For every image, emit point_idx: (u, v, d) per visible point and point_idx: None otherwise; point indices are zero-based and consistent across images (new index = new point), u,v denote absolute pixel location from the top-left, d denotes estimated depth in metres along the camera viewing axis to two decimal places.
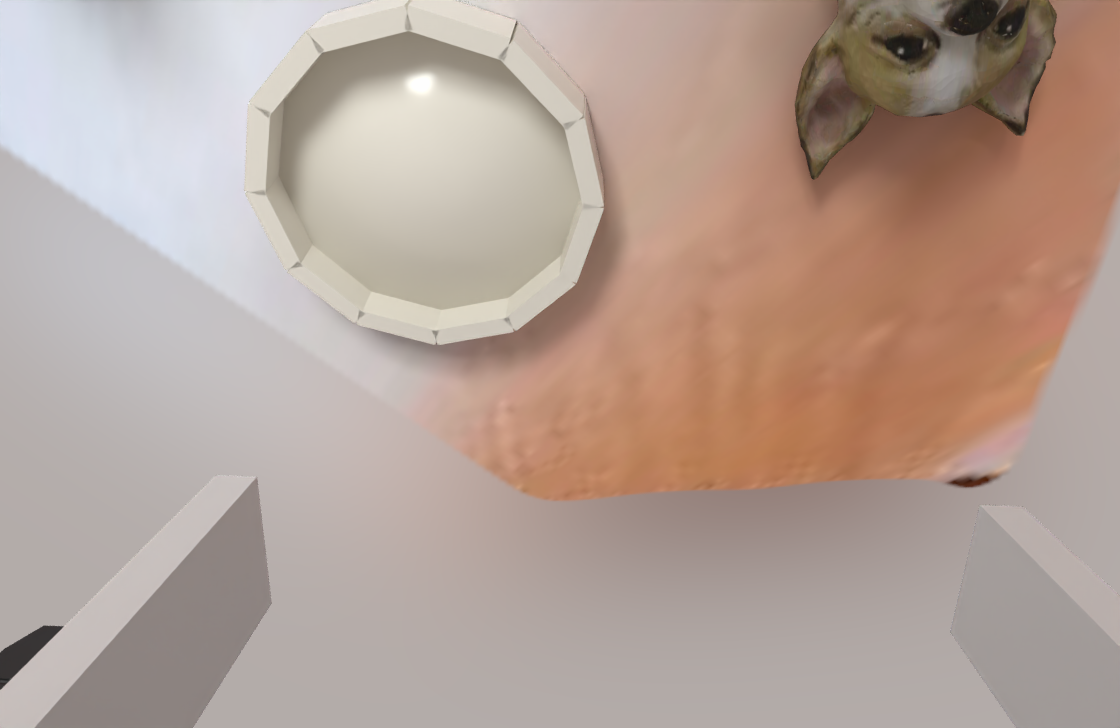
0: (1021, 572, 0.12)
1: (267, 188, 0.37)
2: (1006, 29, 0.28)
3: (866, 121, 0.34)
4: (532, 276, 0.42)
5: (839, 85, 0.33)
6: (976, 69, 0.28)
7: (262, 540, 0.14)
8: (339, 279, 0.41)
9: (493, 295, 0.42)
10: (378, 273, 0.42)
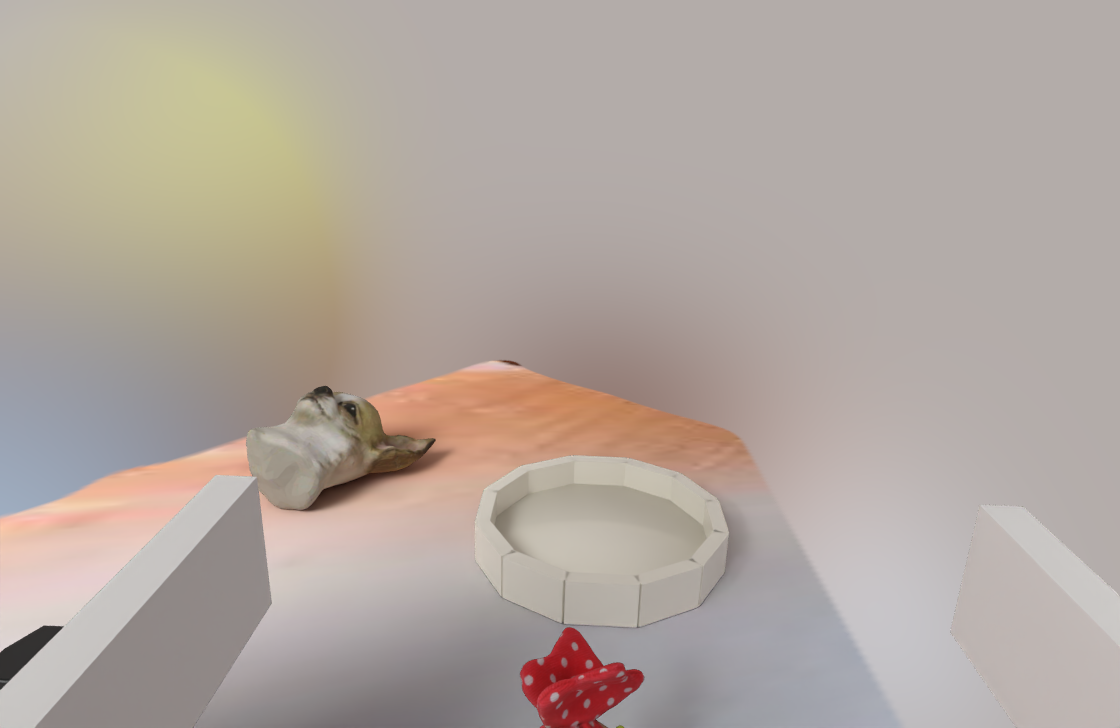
0: (1020, 572, 0.12)
1: None
2: None
3: (393, 436, 0.64)
4: (599, 485, 0.60)
5: None
6: (340, 393, 0.62)
7: (262, 540, 0.14)
8: (707, 526, 0.53)
9: (631, 490, 0.60)
10: (686, 527, 0.55)
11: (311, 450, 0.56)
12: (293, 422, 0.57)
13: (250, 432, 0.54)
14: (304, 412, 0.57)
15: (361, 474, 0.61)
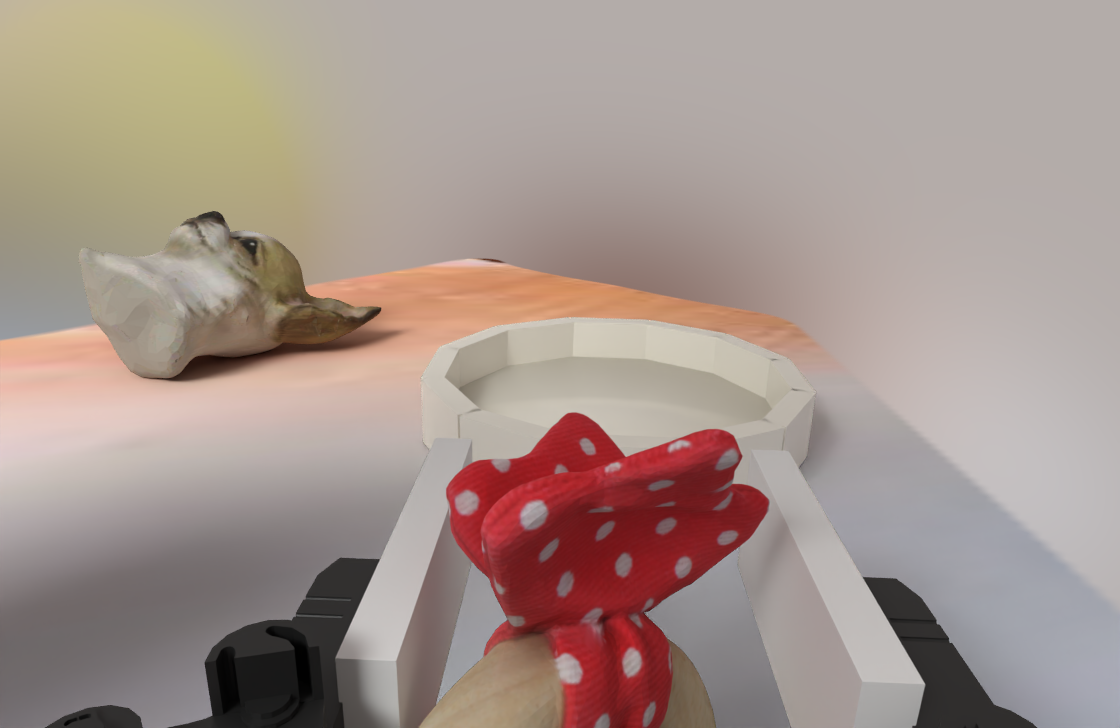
0: None
1: None
2: None
3: None
4: (609, 358, 0.42)
5: None
6: None
7: None
8: (776, 393, 0.35)
9: (655, 363, 0.42)
10: (741, 400, 0.37)
11: (176, 287, 0.38)
12: (160, 253, 0.40)
13: (81, 251, 0.37)
14: (177, 240, 0.40)
15: (266, 341, 0.43)
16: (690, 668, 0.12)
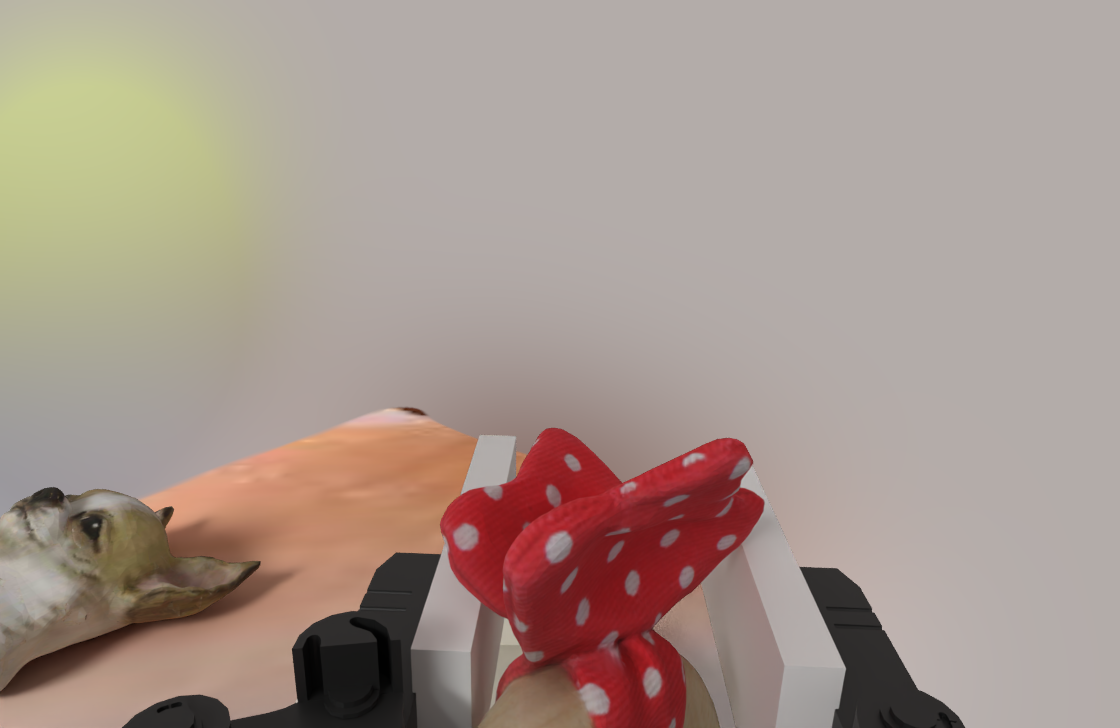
0: None
1: None
2: None
3: (191, 557, 0.41)
4: (510, 646, 0.38)
5: (167, 582, 0.39)
6: (96, 493, 0.39)
7: None
8: None
9: None
10: None
11: None
12: None
13: None
14: (2, 535, 0.35)
15: (116, 626, 0.38)
16: (697, 676, 0.12)
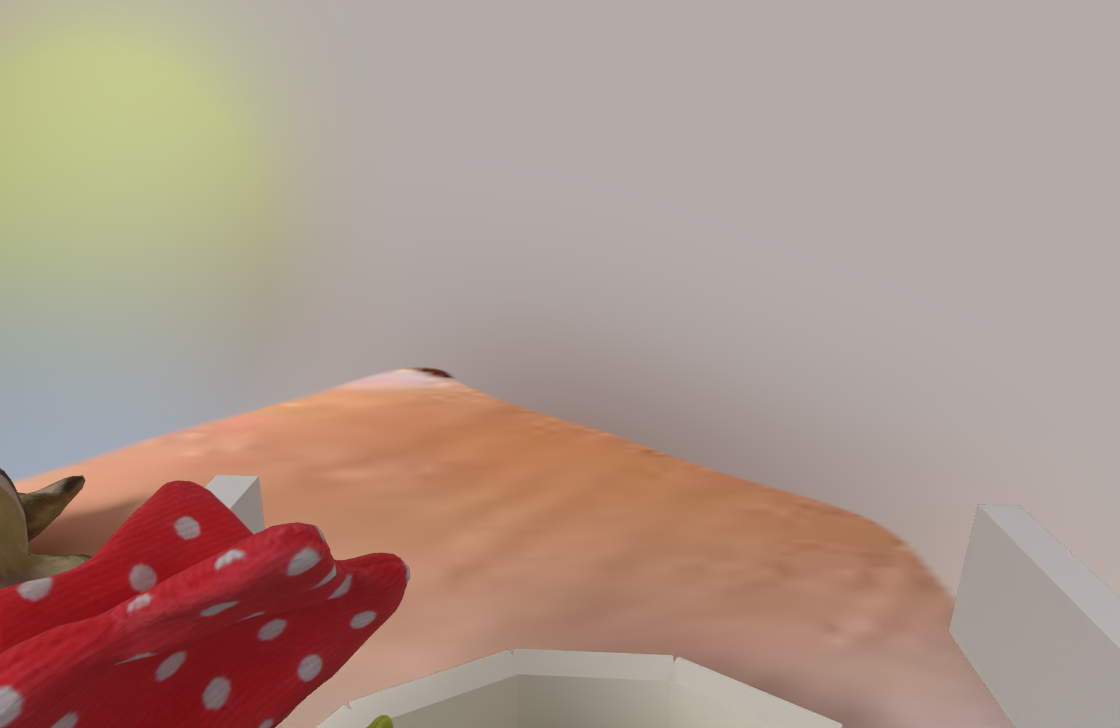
0: (1018, 571, 0.12)
1: None
2: None
3: (63, 556, 0.25)
4: None
5: None
6: None
7: None
8: None
9: None
10: None
11: None
12: None
13: None
14: None
15: None
16: None
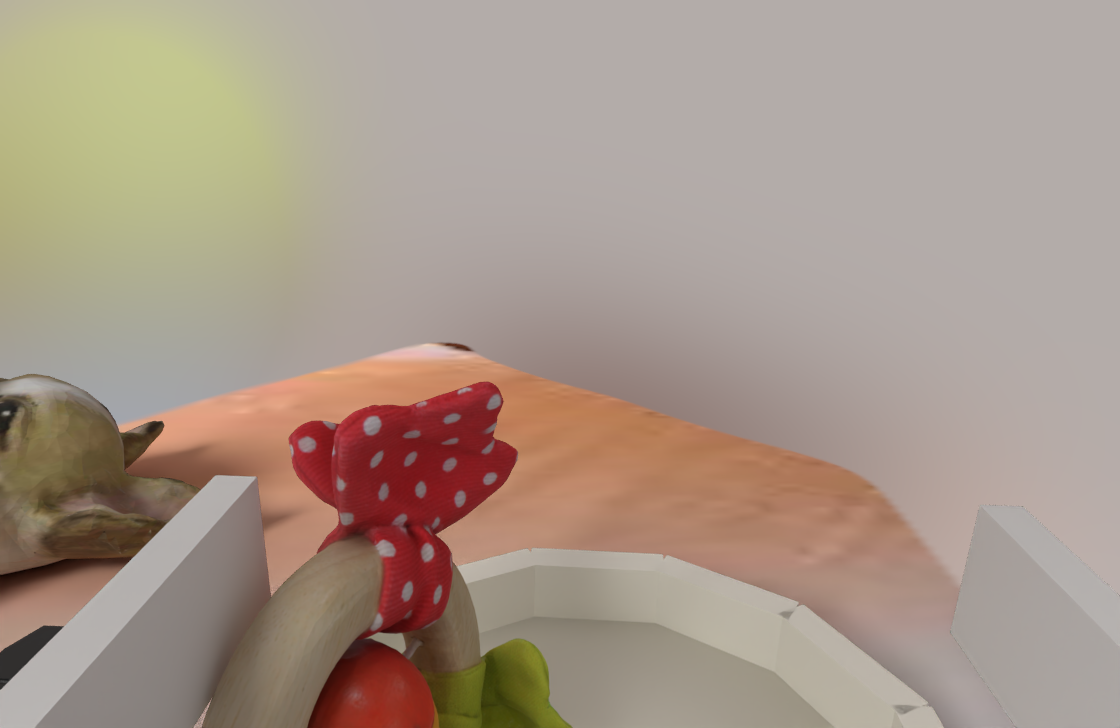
0: (1020, 572, 0.12)
1: None
2: None
3: (154, 478, 0.30)
4: (595, 621, 0.25)
5: (109, 505, 0.28)
6: (29, 377, 0.29)
7: (261, 540, 0.14)
8: None
9: (673, 637, 0.24)
10: None
11: None
12: None
13: None
14: None
15: (36, 560, 0.27)
16: (463, 579, 0.16)
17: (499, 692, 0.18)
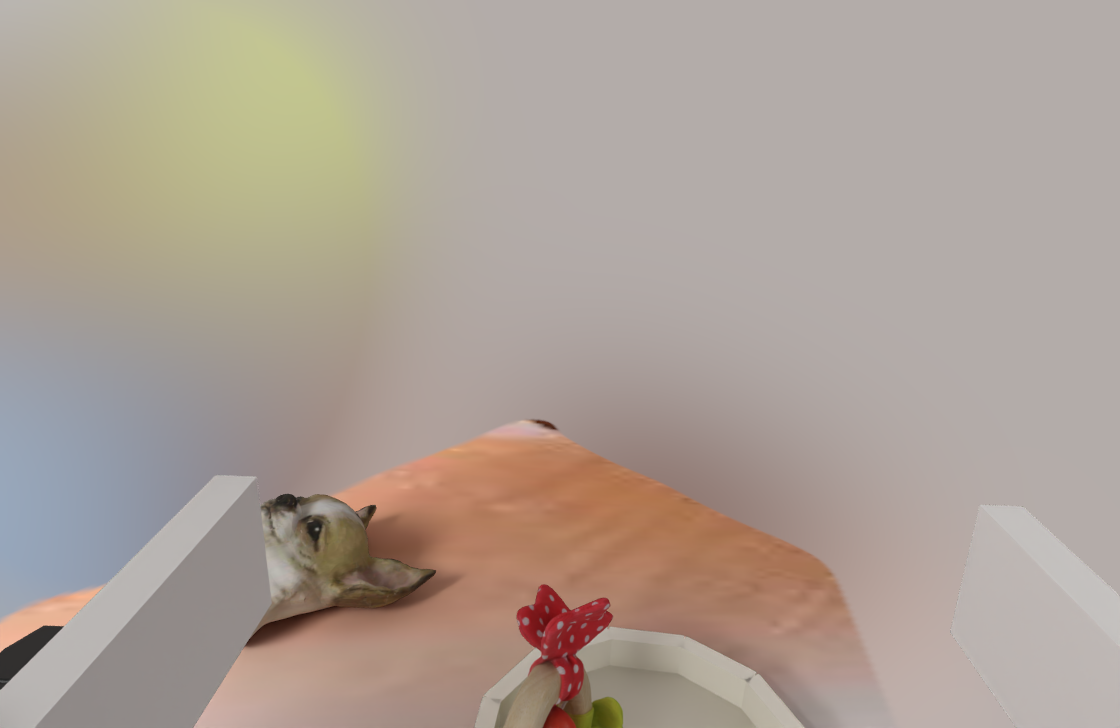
0: (1021, 572, 0.12)
1: None
2: (296, 499, 0.49)
3: None
4: (644, 670, 0.45)
5: (364, 578, 0.49)
6: (320, 499, 0.49)
7: (261, 540, 0.14)
8: None
9: (687, 683, 0.44)
10: None
11: None
12: None
13: None
14: None
15: (325, 607, 0.48)
16: (586, 673, 0.36)
17: (598, 720, 0.37)
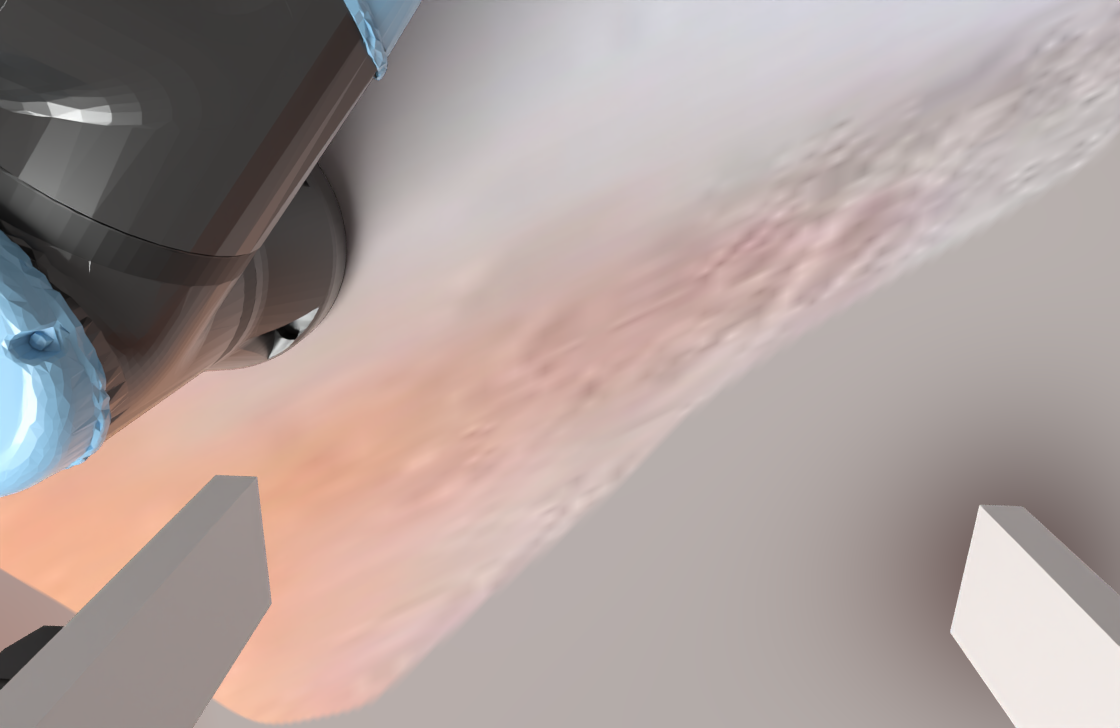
0: (1020, 572, 0.12)
1: None
2: None
3: None
4: None
5: None
6: None
7: (262, 540, 0.14)
8: None
9: None
10: None
11: None
12: None
13: None
14: None
15: None
16: None
17: None
